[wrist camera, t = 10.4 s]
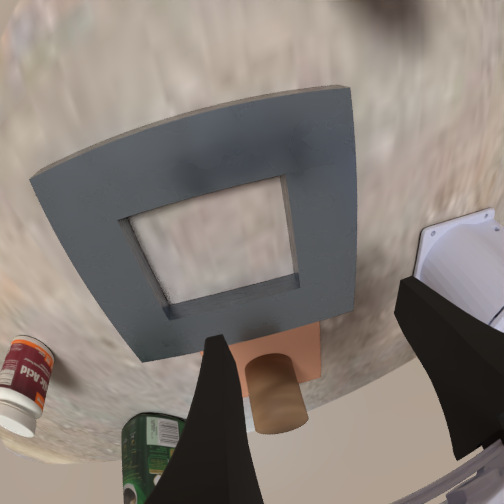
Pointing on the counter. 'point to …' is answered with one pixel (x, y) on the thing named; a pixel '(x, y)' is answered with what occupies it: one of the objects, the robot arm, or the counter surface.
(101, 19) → the counter surface
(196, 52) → the counter surface
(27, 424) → the pill bottle
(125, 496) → the coffee jar
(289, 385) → the brown wooden cylinder
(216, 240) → the counter surface
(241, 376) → the mat
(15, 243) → the counter surface
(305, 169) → the grey square frame
